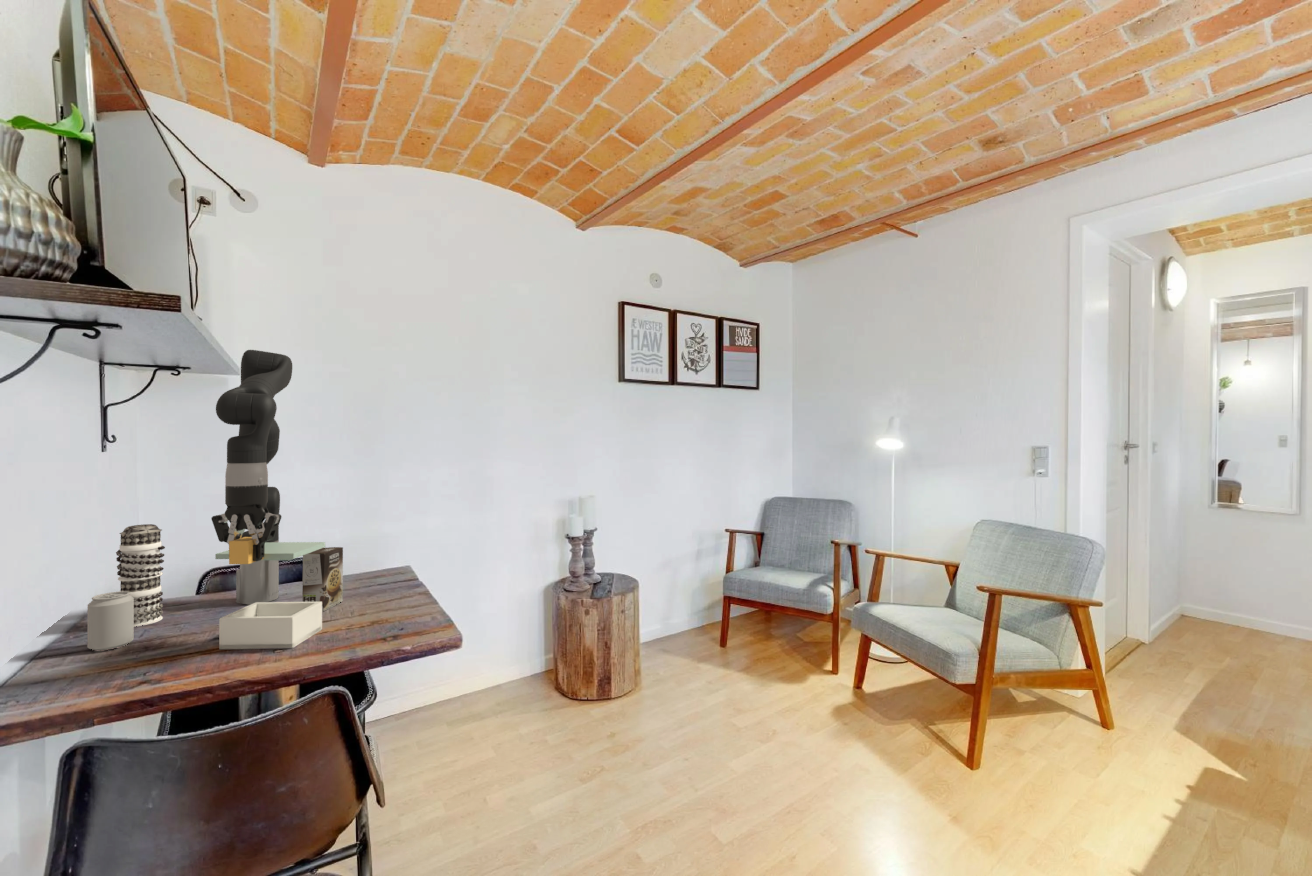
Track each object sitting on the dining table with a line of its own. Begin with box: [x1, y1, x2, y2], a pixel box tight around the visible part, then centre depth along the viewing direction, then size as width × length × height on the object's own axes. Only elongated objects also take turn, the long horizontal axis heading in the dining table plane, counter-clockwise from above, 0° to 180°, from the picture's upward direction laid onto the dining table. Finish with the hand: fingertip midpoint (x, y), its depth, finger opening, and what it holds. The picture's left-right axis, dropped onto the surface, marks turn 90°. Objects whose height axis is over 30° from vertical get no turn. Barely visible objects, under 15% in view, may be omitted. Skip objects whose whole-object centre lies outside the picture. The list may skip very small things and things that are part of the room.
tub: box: [218, 601, 323, 650], centre depth 129 cm, size 16×12×7 cm
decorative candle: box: [115, 523, 166, 628], centre depth 141 cm, size 9×9×25 cm
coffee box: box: [301, 546, 344, 612], centre depth 154 cm, size 9×6×16 cm
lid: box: [214, 537, 326, 565], centre depth 127 cm, size 17×18×6 cm
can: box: [86, 590, 135, 651], centre depth 124 cm, size 8×8×12 cm
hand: (246, 560), depth 120 cm, fingers closed on lid, 4 cm apart
